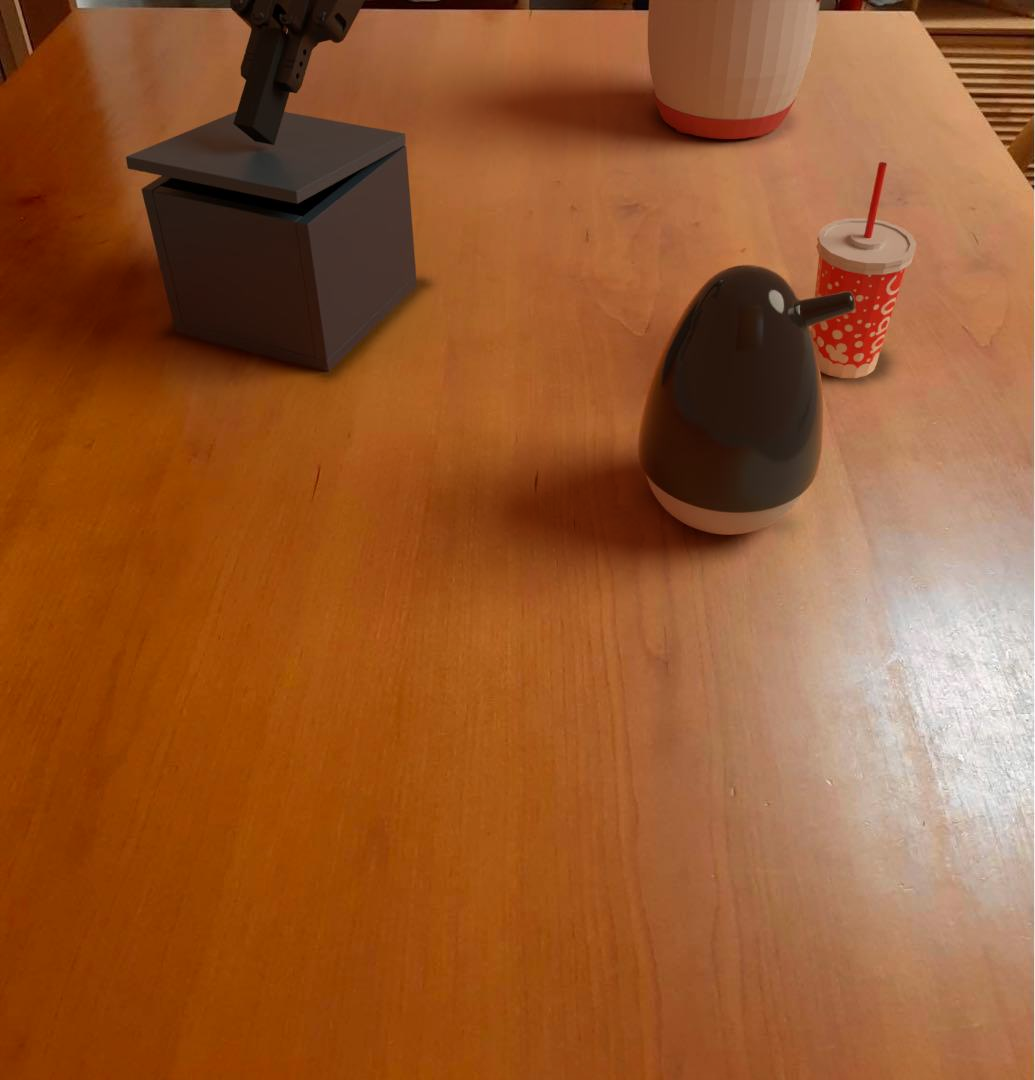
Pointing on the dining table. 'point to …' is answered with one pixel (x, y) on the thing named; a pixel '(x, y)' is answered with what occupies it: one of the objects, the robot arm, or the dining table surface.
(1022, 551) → the dining table surface
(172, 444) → the dining table surface
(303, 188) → the lid
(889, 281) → the beverage cup
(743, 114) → the citrus juicer
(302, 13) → the robot arm
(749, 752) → the dining table surface
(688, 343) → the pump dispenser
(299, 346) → the box
